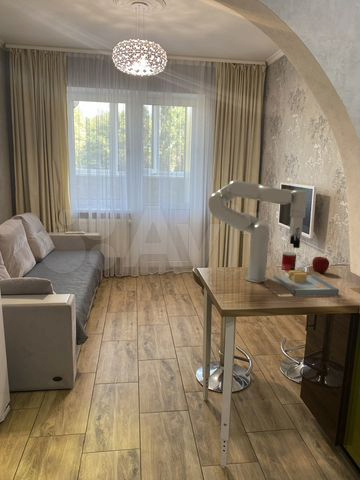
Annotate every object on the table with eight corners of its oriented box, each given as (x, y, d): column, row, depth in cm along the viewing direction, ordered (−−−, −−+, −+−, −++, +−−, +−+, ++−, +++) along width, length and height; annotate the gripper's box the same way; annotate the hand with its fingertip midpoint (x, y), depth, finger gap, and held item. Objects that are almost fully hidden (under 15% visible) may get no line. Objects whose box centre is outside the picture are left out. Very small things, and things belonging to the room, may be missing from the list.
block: (288, 278, 203) (289, 270, 202) (300, 278, 204) (300, 270, 203) (294, 282, 196) (294, 274, 195) (306, 282, 197) (307, 274, 196)
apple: (328, 272, 223) (330, 256, 221) (327, 276, 214) (329, 259, 212) (312, 269, 226) (313, 254, 224) (310, 273, 218) (312, 257, 216)
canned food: (293, 273, 217) (294, 255, 215) (279, 271, 221) (281, 253, 219) (296, 270, 224) (297, 253, 221) (282, 268, 227) (284, 251, 225)
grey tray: (273, 279, 203) (273, 274, 203) (312, 279, 207) (312, 274, 206) (294, 296, 178) (295, 290, 177) (338, 295, 182) (338, 289, 181)
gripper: (287, 211, 200) (284, 242, 203) (293, 215, 183) (289, 248, 186) (301, 212, 199) (298, 243, 202) (308, 216, 182) (305, 249, 186)
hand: (294, 245), depth 194 cm, fingers open, 9 cm apart
